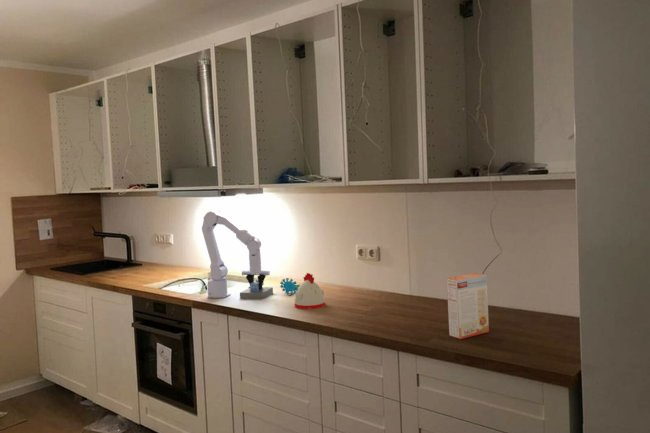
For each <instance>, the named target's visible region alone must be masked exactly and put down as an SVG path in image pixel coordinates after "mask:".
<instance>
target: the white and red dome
mask: <svg viewBox="0 0 650 433" xmlns="http://www.w3.org/2000/svg"><path fill="white" fill-rule="evenodd" d="M313 275H314V274H311V273H309V272H306V274H304V277H303V282H302V283H301V284H300V286H299V287H298V290H297V291H296V292H295V294H294V297H295V298H294V308H296V309H300V310H314V309H320V308H323V307H325V306H326V300H325V293H324V289H323V288H321V287H320V286H319V285H318V284H317V282H315V277H313Z"/></svg>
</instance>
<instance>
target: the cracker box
mask: <svg viewBox="0 0 650 433" xmlns="http://www.w3.org/2000/svg"><path fill="white" fill-rule="evenodd" d="M446 291H447V292H446V293H447V311H448V313H447V314H448V333H449V337H453V338H455V339H459V340H463V339H468V338H470V337H471V338H472V337H475V336H479V335H483V334H487V333H489V332H490V328H489V327H490V325H489V303H488V302H489V300H488V297H489V296H488V275H487V274H482V273H478V272H476V273H475V272H474V273H469V274H464V275H457V276H451V277H447V278H446Z"/></svg>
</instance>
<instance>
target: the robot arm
mask: <svg viewBox="0 0 650 433" xmlns="http://www.w3.org/2000/svg"><path fill="white" fill-rule="evenodd" d="M217 225H221V226H222V225H223V226H225V227H226V229H229V230H230V231H232V232H233V233H234V234H235V237H236V239H237V240H239V241H240V243H242V244H243V245H245V246H246V248H247V250H248V260H249V270H242V271H241V275H242V276H245V279H246V280H247V282H248V284H249V285H250V283H252V282H254V281H255V276H257V280H258V281H259V290H261V289H262V287H264V285H263V283H264V281H265V278H266V277H267V276H270V274H271V273H270V272H271V271H269V270H262V262H261V261H262V258H261V251H260V250H261V247H262V243H261V241H260V239H259V238H256V237H255V236H254V235H252V234H251V233H250V232H249V230H247V229H245V228H240V227H238V225H237V224H235V223H234V222H233V221H232V220H231V219H230V218H229V217H227V216H226V215H225V214H224V213H223V212H221V211H220V210H211V211H207V213H206V214H205V215H204V216H203V223H202V226H201V231H202V235H203V238H204V239H203V240H204V242H205V246H206V249H207V252H208V256H209V260H210V265H209V266H210V274H209V275H210V277H211V279H209V280H208V281H207V284H206V286H207V298H214V299H215V298H216V299H217V298H218V299H219V298H220V299H224V298H227V297H229V296H230V295H231V293H228V279H227V275H228V272H229V271H228V270H229V269H228V268H227V266H226V265H225V262H224V261H223V260H222V258H221V254H220V250H219V246H218V243H217V240H216V236H215V232H214V229H215V227H216V226H217Z"/></svg>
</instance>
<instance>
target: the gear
mask: <svg viewBox="0 0 650 433" xmlns="http://www.w3.org/2000/svg"><path fill="white" fill-rule="evenodd" d="M279 284H281V285H280V288H281V289H282V292H285V294H287V295H288V294H290V295H293V294H294V295H295V292H297V290H298V288H299V287H300V285H301V284H297V281H296V280H295V281H294V279H292V278H290V280H289V278H288V277H286V278H283V279H281V281H280V283H279Z"/></svg>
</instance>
